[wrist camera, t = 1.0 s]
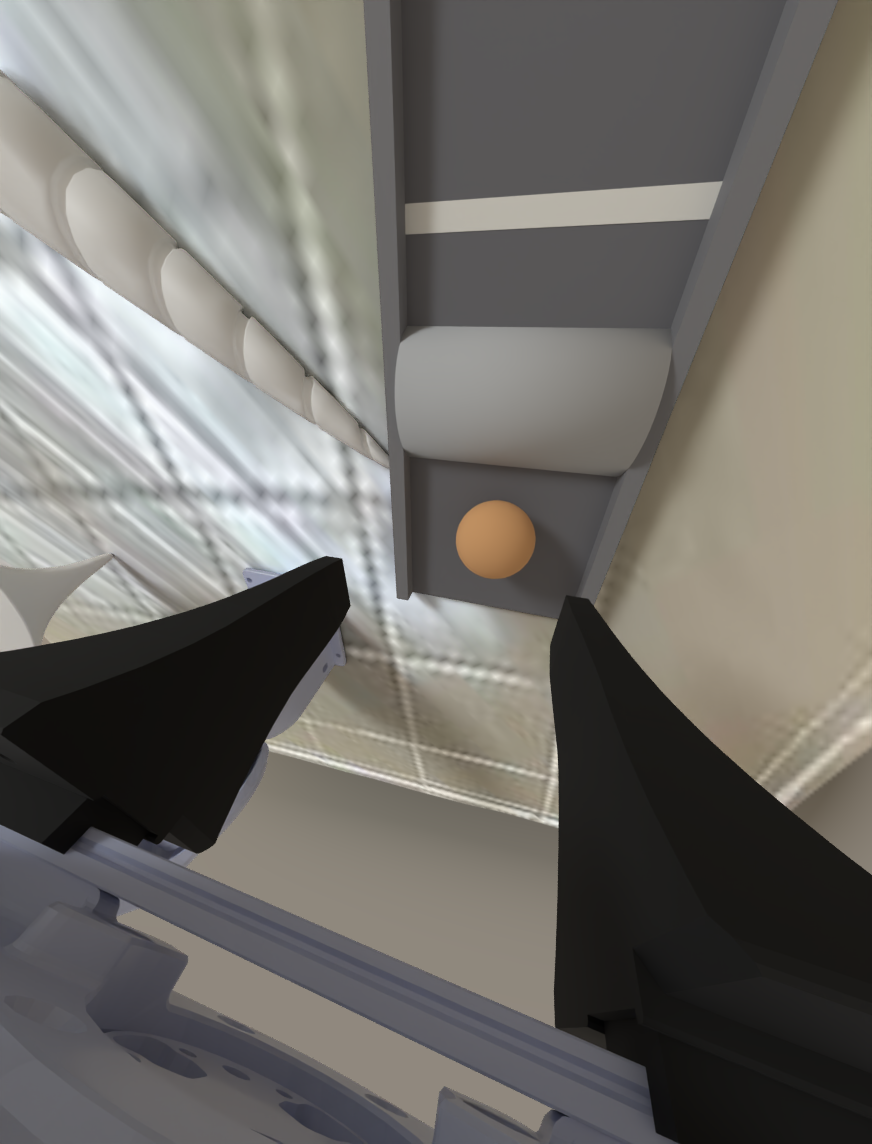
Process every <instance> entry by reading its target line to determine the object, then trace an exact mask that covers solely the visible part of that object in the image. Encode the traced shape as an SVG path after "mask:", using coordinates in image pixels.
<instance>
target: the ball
mask: <svg viewBox="0 0 872 1144" xmlns="http://www.w3.org/2000/svg"><path fill="white" fill-rule="evenodd" d="M535 541H536V536H535V530H534V527H533V524H532V522H531V520H530V518H529V517H528V515H527V514H526V513H525V512H524V511H523V510H522V509H521V508H519V507H518V506H516V505H514V504H512V503H510V502H506V501H501V500H493V501H487V502H483V503H481V504H478V505H476V506H475V507H473V508H472V509H471V510H470V511H468V512H467V513H466V515H465V516H464V517H463V519H462V520H461V522H460V524H459V526H458V529H457V533H456V547H457V551H458V554H459V557H460V559H461V560H462V562H463V563H464V565H465V566H466V567H467V568H468V569H469V570H470V571H472V572H473V573H475V574H477V575H479V576H481V577H484V578H489V579H501V578H506V577H509V576H511V575H513V574H515V573H517V572H518V571H520V570H521V569H522V568H523V567H524V566H525V565H526V564H527V563H528V561H529V560H530V558H531V556H532V554H533V551H534V548H535Z"/></svg>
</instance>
